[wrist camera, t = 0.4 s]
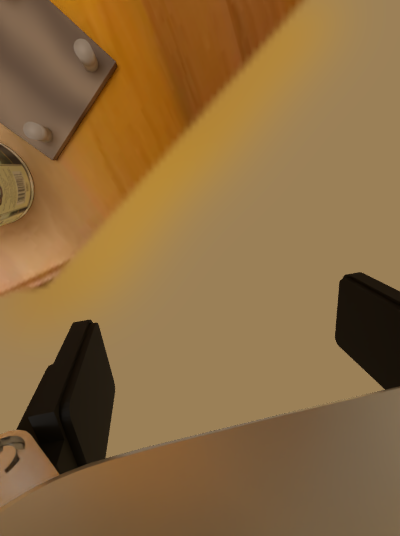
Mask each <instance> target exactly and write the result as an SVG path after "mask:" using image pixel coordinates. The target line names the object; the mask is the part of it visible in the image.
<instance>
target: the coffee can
mask: <svg viewBox="0 0 400 536" xmlns="http://www.w3.org/2000/svg"><path fill="white" fill-rule="evenodd" d="M33 197H34V185H33V180H32V177H31V174H30V172H29V170H28V168H27V166H26V164H25V163H24V162H23V161H22V159H21V158H20V157H19V156H18V155H17V154H16V153H15V152H14V151H13V150H11V149H10V148H8V147H7V146H5V145H4V144H2V143H0V226H2V225H5V224H8V223H12V222H14V221H16V220H18V219H19V218H21V217H22V216H23V215H24V214H25V213H26V212H27V211H28V210H29V208H30V206H31V204H32V201H33Z"/></svg>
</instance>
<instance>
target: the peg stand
mask: <svg viewBox="0 0 400 536" xmlns="http://www.w3.org/2000/svg"><path fill="white" fill-rule="evenodd" d="M116 67H117V64H116V62H115V61H114V60H113V59H112V58H111V57H110V56H109V55H108V54H107V53H106V52H105V51H104V50H102V49H101V48H100V47H99V46H98V45H97V44H96V43H95V42H94V41H93V40H92V39H91V38H89V37H88V36H87V35H86V34H85V33H84V32H83V31H82V30H81V29H80V28H79V27H78V26H76V25H75V24H74V23H73V22H72V21H71V20H70V19H69V18H68V17H67V16H66V15H64V14H63V13H62V12H61V11H60V10H59V9H58V8H57V7H56V6H55V5H54V4H53V3H51V2H50V1H49V0H0V123H2V124H3V125H4V126H6V127H7V128H8V129H10V130H11V131H13V132H14V133H15V134H17V135H18V136H20V137H21V138H22V139H24V140H25V141H27V142H28V143H29V144H31V145H32V146H33V147H35V148H36V149H38V150H39V151H40V152H42V153H43V154H45V155H46V156H47V157H49V158H50V159H52V160H57V158H58V157H59V155H60V153H61V152H62V150H63V149H64V147H65V146H66V144H67V143H68V141H69V140H70V138H71V137H72V135H73V133H74V132H75V130H76V129H77V127H78V126H79V124H80V123H81V121H82V120H83V118H84V117H85V115H86V114H87V112H88V110H89V109H90V107H91V106H92V104H93V103H94V101H95V100H96V98H97V97H98V95H99V94H100V92H101V90H102V89H103V87H104V86H105V84H106V83H107V81H108V80H109V78H110V77H111V75H112V74H113V72H114V70H115V69H116Z"/></svg>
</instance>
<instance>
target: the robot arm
mask: <svg viewBox="0 0 400 536" xmlns="http://www.w3.org/2000/svg"><path fill="white" fill-rule="evenodd" d="M335 340H336V342H337V344H338V345H339V347H341V348H342V349H343V350H344V351H345V352H346V353H347V354H348V355H349V356H350V357H351V358H352V359H353V360H354V361H355V362H356V363H358V364H359V365H360V366H361V367H362V368H363V369H364V370H365V371H366V372H367V373H368V374H369V375H370V376H371V377H373V378H374V379H375V380H376V381H377V382H378V383H379V384H380V385H381V386H382V387H383V388H384V389H385V390H382V391H378V392H374V393H370V394H365V395H361V396H356V397H352V398H348V399H344V400H339V401H335V402H331V403H327V404H323V405H318V406H314V407H310V408H305V409H301V410H297V411H293V412H289V413H284V414H281V415H276V416H272V417H268V418H264V419H259V420H256V421H251V422H248V423H243V424H239V425H235V426H231V427H227V428H222V429H219V430H214V431H210V432H206V433H202V434H198V435H194V436H190V437H185V438H181V439H177V440H174V441H170V442H165V443H161V444H157V445H153V446H149V447H145V448H141V449H138V450H134V451H131V452H127V453H124V454H120V455H116V456H113V457H109V458H106V459H105V456H106V450H107V443H108V436H109V429H110V422H111V415H112V409H113V402H114V394H115V384H114V380H113V376H112V372H111V369H110V365H109V361H108V358H107V354H106V350H105V347H104V343H103V339H102V336H101V332H100V328H99V325H98V323H93V322H92V321H91V320H86V321H80V322H74V323H73V324H72V326H71V328H70V330H69V332H68V334H67V336H66V338H65V340H64V343H63V345H62V347H61V349H60V351H59V353H58V355H57V357H56V359H55V362H54V363H53V364H52V365H50V366H48V368H47V369H46V371H45V374H44V375H43V377H42V379H41V381H40V383H39V385H38V388H37V389H36V391H35V394H34V395H33V397H32V399H31V401H30V403H29V406H28V407H27V409H26V411H25V413H24V415H23V417H22V420H21V422H20V423H19V426H18V428H17V429H16V430H13V431H8V432H5V433H2V434H0V536H400V291H398V290H396V289H394V288H392V287H390V286H388V285H385V284H383V283H382V282H380V281H378V280H376V279H373V278H371V277H370V276H367V275H365V274H364V273H360V272H359V273H353V274H348V275H345V276H344V277H343V279H342V280H340V283H339V295H338V307H337V319H336V331H335Z"/></svg>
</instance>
